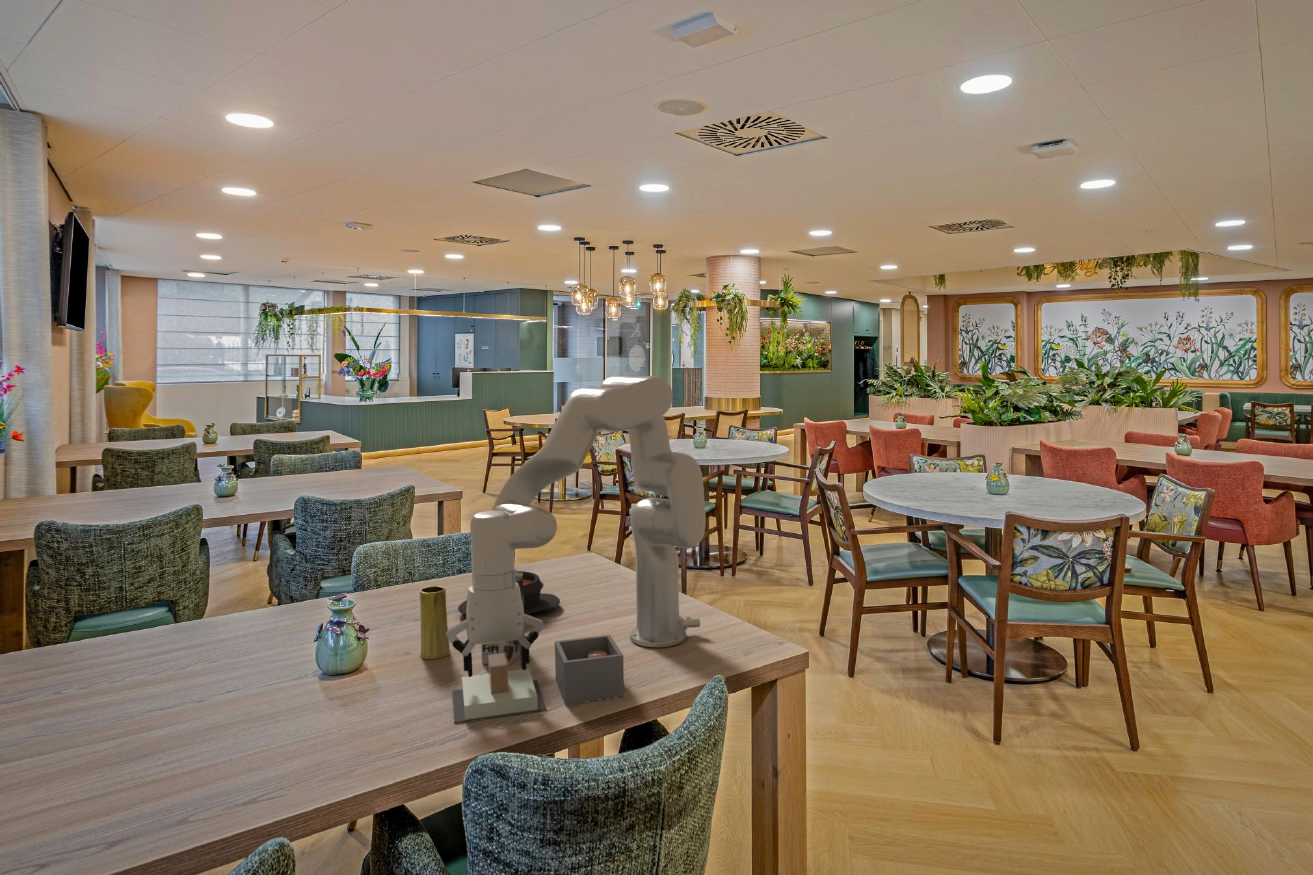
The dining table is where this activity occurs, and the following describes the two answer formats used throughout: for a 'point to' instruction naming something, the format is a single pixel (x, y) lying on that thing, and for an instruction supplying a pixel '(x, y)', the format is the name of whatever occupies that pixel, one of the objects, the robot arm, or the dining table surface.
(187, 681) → the dining table surface
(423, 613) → the vase
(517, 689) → the lid
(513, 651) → the coffee box
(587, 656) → the storage box
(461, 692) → the mat
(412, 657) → the dining table surface
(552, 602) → the casserole
